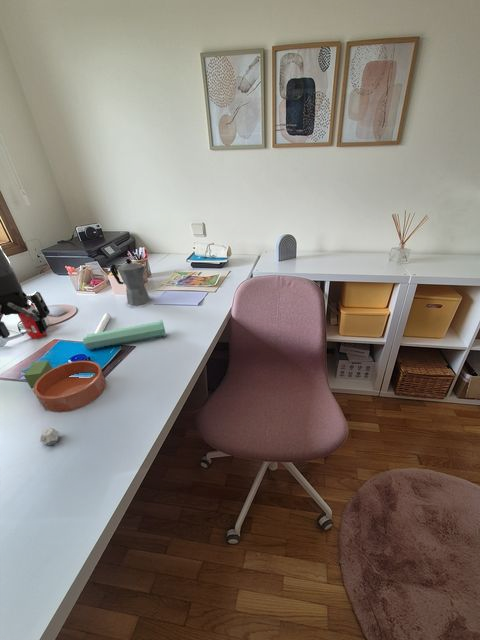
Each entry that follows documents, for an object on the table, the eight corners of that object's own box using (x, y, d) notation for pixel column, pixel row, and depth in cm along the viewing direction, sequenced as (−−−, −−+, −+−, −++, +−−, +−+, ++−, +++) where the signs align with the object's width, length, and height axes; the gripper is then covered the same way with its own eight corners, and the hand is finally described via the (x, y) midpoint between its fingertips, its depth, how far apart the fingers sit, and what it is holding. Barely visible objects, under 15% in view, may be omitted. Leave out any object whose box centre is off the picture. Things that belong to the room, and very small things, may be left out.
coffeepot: (158, 297, 131) (148, 255, 121) (148, 306, 123) (137, 263, 113) (125, 295, 133) (113, 254, 123) (113, 305, 125) (100, 262, 115)
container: (78, 335, 92) (161, 320, 99) (83, 333, 98) (162, 319, 104) (83, 353, 94) (165, 337, 100) (88, 350, 99) (166, 335, 105)
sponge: (31, 388, 81) (23, 375, 79) (39, 375, 86) (32, 362, 83) (47, 386, 82) (40, 373, 79) (55, 373, 87) (48, 360, 84)
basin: (31, 416, 72) (22, 403, 70) (53, 377, 85) (46, 365, 82) (99, 406, 75) (93, 392, 72) (111, 369, 87) (106, 357, 85)
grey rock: (65, 434, 68) (59, 425, 66) (56, 447, 64) (50, 438, 63) (49, 434, 68) (43, 425, 66) (39, 448, 64) (33, 439, 63)
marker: (106, 316, 116) (104, 310, 115) (112, 315, 117) (110, 310, 115) (94, 340, 102) (91, 334, 100) (100, 339, 102) (98, 333, 101)
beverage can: (27, 336, 104) (10, 305, 98) (43, 330, 108) (28, 299, 101) (34, 341, 102) (17, 308, 95) (50, 334, 105) (35, 303, 99)
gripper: (34, 264, 72) (60, 324, 81) (-34, 270, 69) (1, 330, 78) (20, 275, 66) (51, 338, 75) (-55, 281, 63) (-14, 345, 72)
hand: (25, 334), depth 77 cm, fingers open, 8 cm apart
